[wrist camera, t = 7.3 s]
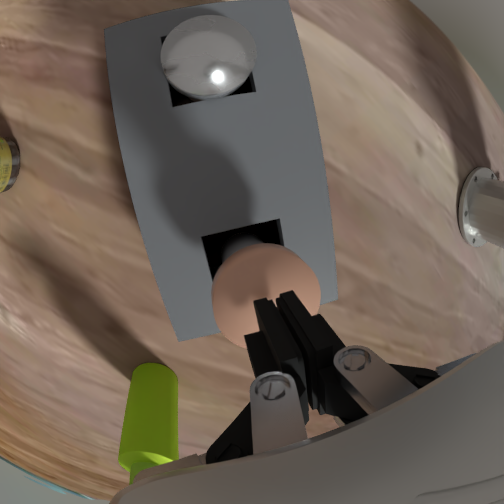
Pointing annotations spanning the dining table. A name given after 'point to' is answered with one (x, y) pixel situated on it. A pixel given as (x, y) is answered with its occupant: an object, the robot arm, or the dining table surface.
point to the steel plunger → (208, 57)
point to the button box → (219, 155)
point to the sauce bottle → (8, 163)
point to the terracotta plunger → (257, 283)
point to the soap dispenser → (150, 419)
